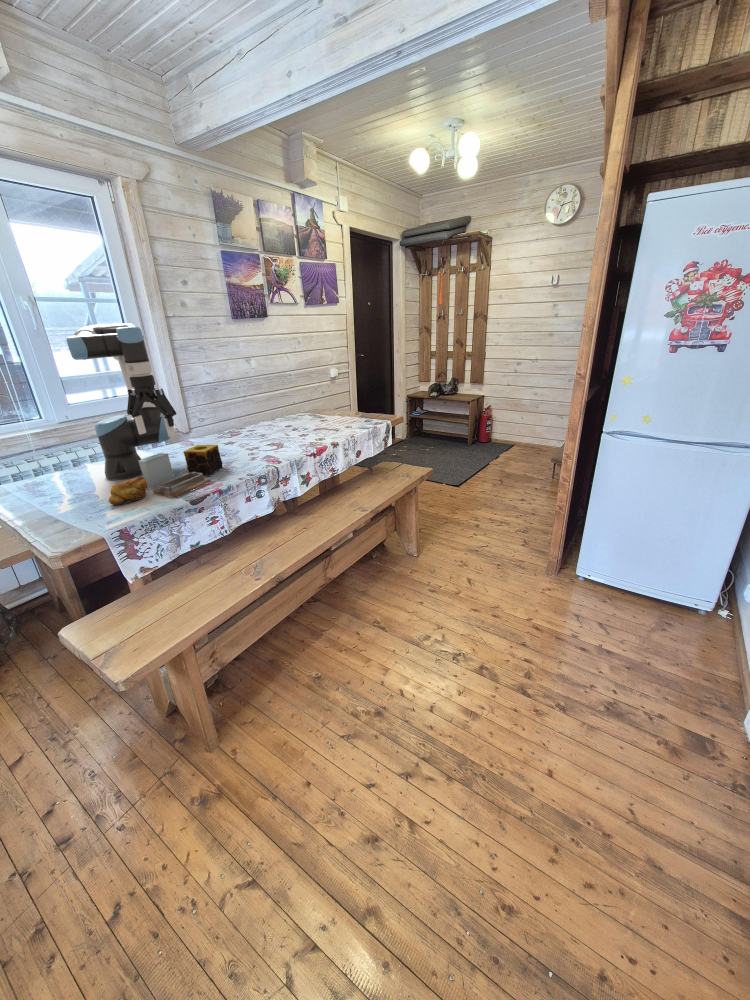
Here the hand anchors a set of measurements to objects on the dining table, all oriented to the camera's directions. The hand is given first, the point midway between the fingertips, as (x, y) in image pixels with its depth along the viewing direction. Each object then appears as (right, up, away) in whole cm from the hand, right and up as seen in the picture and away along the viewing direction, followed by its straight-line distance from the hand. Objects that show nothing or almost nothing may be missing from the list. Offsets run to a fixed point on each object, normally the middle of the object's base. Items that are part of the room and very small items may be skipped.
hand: (157, 434), depth 154 cm
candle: (+11, -13, +18) cm, 25 cm away
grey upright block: (-2, -18, +7) cm, 19 cm away
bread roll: (-7, -24, -6) cm, 26 cm away
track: (+9, -20, +2) cm, 22 cm away
